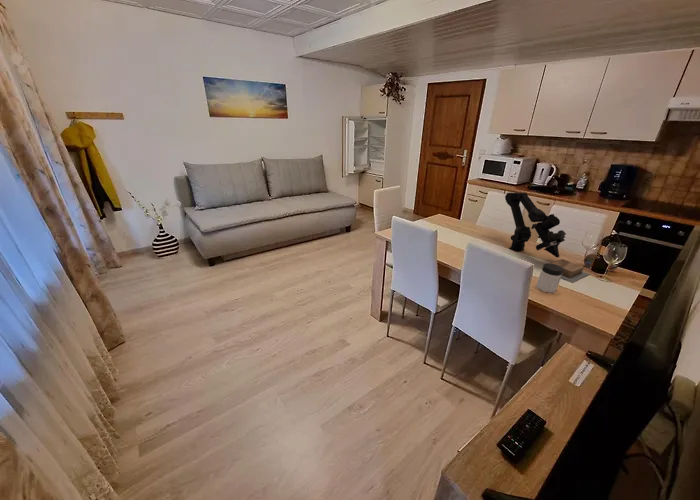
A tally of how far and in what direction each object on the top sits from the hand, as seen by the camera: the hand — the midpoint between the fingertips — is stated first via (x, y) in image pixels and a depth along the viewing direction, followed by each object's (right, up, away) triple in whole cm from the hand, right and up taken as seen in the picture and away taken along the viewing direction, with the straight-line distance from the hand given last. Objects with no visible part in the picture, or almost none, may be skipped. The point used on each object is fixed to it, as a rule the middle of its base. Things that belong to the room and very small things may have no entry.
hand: (558, 257), depth 163 cm
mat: (+3, -9, -3) cm, 10 cm away
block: (0, -4, +2) cm, 4 cm away
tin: (+25, -7, +4) cm, 26 cm away
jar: (-18, -15, -17) cm, 30 cm away
